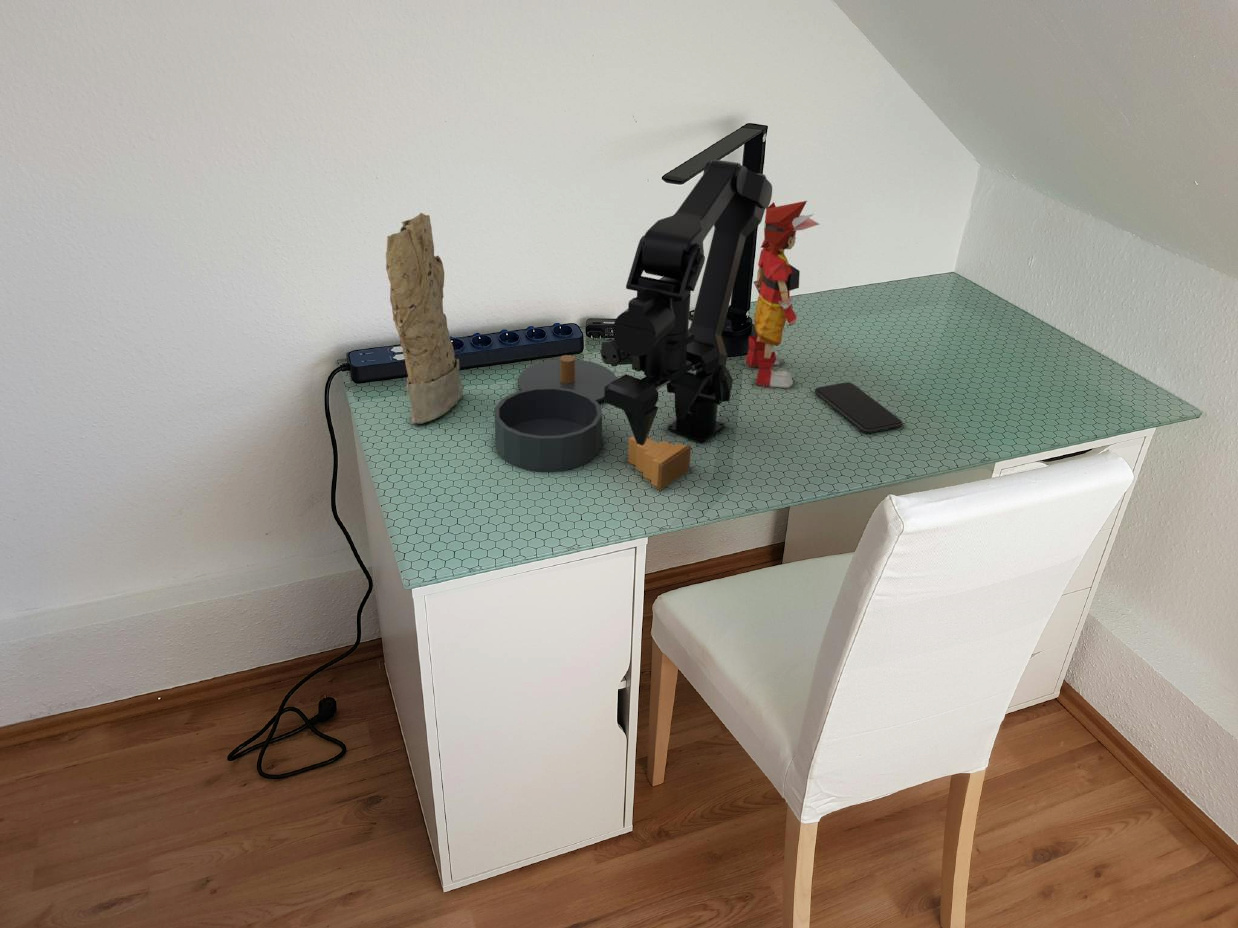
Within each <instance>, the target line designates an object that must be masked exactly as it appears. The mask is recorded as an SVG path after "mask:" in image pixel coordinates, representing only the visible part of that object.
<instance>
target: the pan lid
mask: <svg viewBox="0 0 1238 928" xmlns="http://www.w3.org/2000/svg"><path fill="white" fill-rule="evenodd" d="M616 379H618V378H617V376H616V375H615V372H613V371H612V370H610V369H609V368H607V366H604V365H602V364H600V363H597V362H594V361H589V360H583V359H576V357H575V356H574V355H570V354H569V355H568V354H564V355H562V356H560V357H559V359H551V360H546V361H540V362H538V363H535V364H533V365H530V366H529V367H527V368H525V369H523V370H522V372H521V373H520V374H519V376H518V377H517V388H518V391H522V390H526V389H531V388H536V387H559V388H566V389H572V390H576V391H579V392H581V393H584V394H586V395H589V396H591V397H592V398H593V399H594V400H595V401H596V402H598V403H599V402H601V401H604V387H605V386H607V385H608V384H609V383H611V382H613V381H614V380H616Z"/></svg>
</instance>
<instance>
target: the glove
mask: <svg viewBox="0 0 1238 928" xmlns="http://www.w3.org/2000/svg"><path fill="white" fill-rule="evenodd" d="M401 223H402V226H401V228H400V229H399V232H395V233H392V234H390V235H387V238H386V252H385V270H386V272H387V278H388V282H389V285H390V287H389V289H390V290H389V301H390V302H389V303H390V304H391V308H392V310H391V311H392V320H393V322H394V325H395V329H396V331H397V333H398V337H399V344H400V346H401V348H402V355H403V357H404V362H405V363H404V364H405V368H406V372H407V377H406V392H407V395H408V400H409V405H410V410H411V411H410V412H411V419H410V421H411V424H425V423H427V422H431V421H433V420H436V419H438V418H440V417H441V416H443V415H445V414H447V413H448V412H449V411H450V410H451V409H452V408H453V407H455V406H456V405H458V402H459V400H461V399H462V396H463V394H464V387H463V383H462V380H461V377H460V367H461V366H460V358H455V356H456V351H455V350H454V346H453V343H452V340H451V338H450V331H449V328H448V319H447V315H446V314H445V313H444V303H443V302H444V301H443V299H444V287H445V269H444V264H443V261H442V259H441V257H440V256H439V255H435V243H434V237H433V228H432V223H431V216H430V215H429V214H427V215H426V214H425V213H422V212H420V213H419V214H418V215H417V216H414V217H413V218H410V219H407V220H404V221H401Z"/></svg>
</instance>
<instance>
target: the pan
mask: <svg viewBox="0 0 1238 928" xmlns="http://www.w3.org/2000/svg"><path fill="white" fill-rule="evenodd" d="M493 411H494V435H495V436H494V437H495V449H496V452H497V454H498V455H499V457H500V458H501V459H503V460H504V461H505V462H506V463H509V465H512V466H515V467H517V468H520V469H523V470H528V471H532V472H533V471H534V472H541V473H546V472H548V473H549V472H550V473H551V472H552V473H553V472H563V471H568V470H573V469H576V468H579V467H581V466H584V465H586V464H587V463H590V462H591V461H592V460H593V459H595V458H596V456H598V454H599V453H600V450H601V448H602V445H603V411H602V407H601V404H600V403H599V402H596V401H595V400H594V399H593V398H592V397H591V396H589V395H586V394H584V393H581V392H579V391H576V390H572V389H566V388H559V387H536V388H531V389H526V390H522V391H520V390H518V391H515V392H513V393H511V394H509V395H507V396H505V397H503V398H501V400H500V401H499V402H498V403H497V405H496V406H495V407H494V410H493Z"/></svg>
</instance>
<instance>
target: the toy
mask: <svg viewBox="0 0 1238 928" xmlns="http://www.w3.org/2000/svg"><path fill="white" fill-rule="evenodd" d="M807 202H808V200H804V201H799V202H793V203H789V204H784V205H778V206H776V204H775V201H773V202H772V203H770V204H769V206H768V208H767V209H765V216H764V217H765V219H764V225H763V226H764V227H763V233H764V235H763V236H764V237H763V238H764V239H763V241H762V244H761V246H760V248H761V250H760V254H759V259H758V261H757V262H758V263H757V266H758V270H757V275H756V280H754V281H752V283H753V284H754V287H755V288H756V290H757V292H758V297H757V300H756V306H755V312H754V316H753V326H754V330H755V332H756V334H754V335H748V352H747V354H746V358H745V362H744V363H745V365H747V366H748V367H750V368H756V367H757V368H758V370H757V374H756V380H755V384H756V386H762V387H773V388H784V389H786V388H787V389H789V388H791V387H792V386H793V385H794V382H793V379H792V375H791V373H790V372H789V371H787V370H774V367H773V366H780V365H781V363H780V356H779V353H778V352H777V351H773V349H774V346H775V347H778V346H779V345H781V344H782V338H783V332H784V328H785V325H786V321H787V325H786V326H787V327H791V326H794V325H796V323H797V320H798V316H797V314H796V313H795V311H794V310H793V298H794V297H793V296H792V297H791V296H790V295H791V294H790V293H791V292H790V291H794V290H797V289H800V277H801V275H800V273H801V271H800V270H799V269H797V268H796V267H795V266H793V265H791V264H790V263H789V260H788V258H787V257H786V255H785V250H792V249H793V247H794V246H795V244H796V239H797V237H796V235H797V231H804V230H807V229H809V228H813V227H815V226H819V225H820V223H819V222H817V221H815V220H814V219H812V218H811V217H813V216H814V215H815V213H812V214H808V215H805V214H803V215H801V214H802V212H803V210H804V208H805V206H806V204H807Z"/></svg>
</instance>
